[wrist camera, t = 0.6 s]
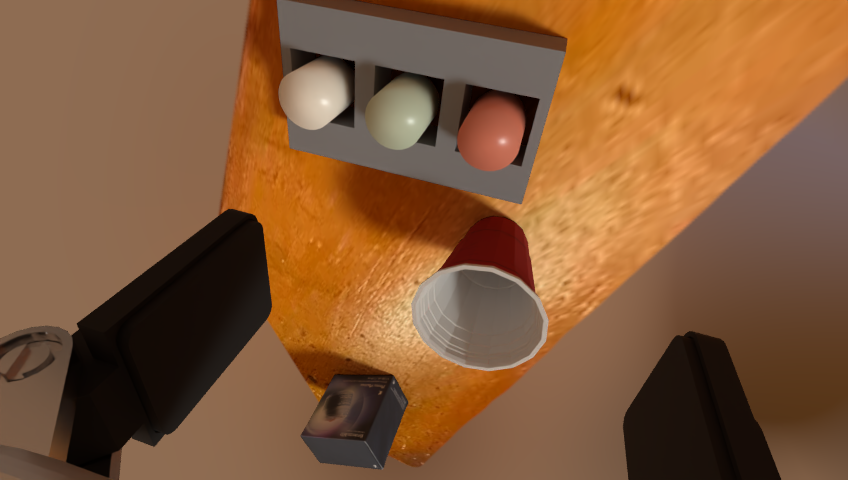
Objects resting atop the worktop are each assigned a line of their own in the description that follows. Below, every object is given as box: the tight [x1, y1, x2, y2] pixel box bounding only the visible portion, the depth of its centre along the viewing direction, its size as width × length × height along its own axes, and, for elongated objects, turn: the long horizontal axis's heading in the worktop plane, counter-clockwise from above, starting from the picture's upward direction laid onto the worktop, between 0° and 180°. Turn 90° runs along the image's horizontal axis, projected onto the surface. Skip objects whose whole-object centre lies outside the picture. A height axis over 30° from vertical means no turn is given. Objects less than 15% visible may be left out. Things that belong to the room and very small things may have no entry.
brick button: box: [457, 90, 527, 171], centre depth 33 cm, size 4×4×5 cm
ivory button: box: [278, 55, 355, 130], centre depth 35 cm, size 4×4×5 cm
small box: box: [301, 375, 408, 469], centre depth 61 cm, size 11×6×10 cm, turn 111°
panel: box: [277, 0, 567, 204], centre depth 36 cm, size 12×21×4 cm, turn 84°
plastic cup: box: [411, 216, 548, 371], centre depth 39 cm, size 11×11×12 cm
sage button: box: [365, 72, 440, 150], centre depth 34 cm, size 4×4×5 cm
